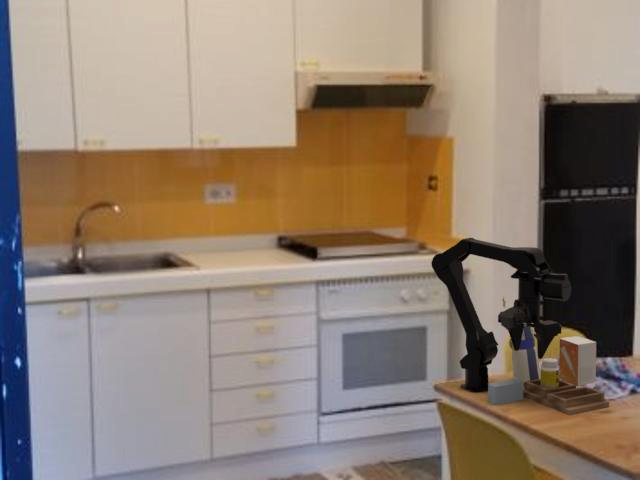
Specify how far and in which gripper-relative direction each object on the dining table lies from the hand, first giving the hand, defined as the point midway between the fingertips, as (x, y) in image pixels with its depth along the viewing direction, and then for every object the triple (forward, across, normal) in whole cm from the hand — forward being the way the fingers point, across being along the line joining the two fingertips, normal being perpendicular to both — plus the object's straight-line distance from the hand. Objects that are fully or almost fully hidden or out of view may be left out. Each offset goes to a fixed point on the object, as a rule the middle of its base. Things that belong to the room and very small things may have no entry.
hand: (528, 354), depth 234 cm
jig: (+12, +7, +6) cm, 15 cm away
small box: (+12, -1, +18) cm, 22 cm away
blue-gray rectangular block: (+12, -1, -6) cm, 14 cm away
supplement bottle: (+11, +2, +6) cm, 13 cm away
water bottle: (+12, -10, +9) cm, 18 cm away
